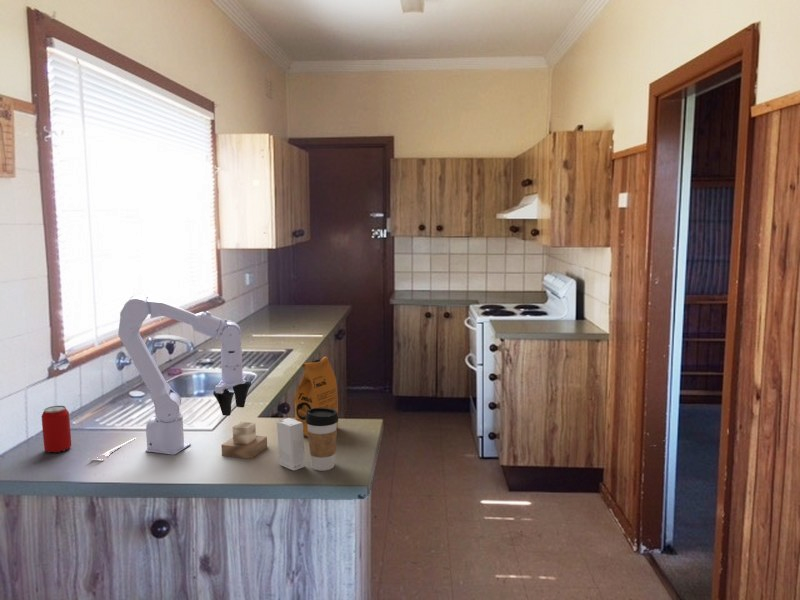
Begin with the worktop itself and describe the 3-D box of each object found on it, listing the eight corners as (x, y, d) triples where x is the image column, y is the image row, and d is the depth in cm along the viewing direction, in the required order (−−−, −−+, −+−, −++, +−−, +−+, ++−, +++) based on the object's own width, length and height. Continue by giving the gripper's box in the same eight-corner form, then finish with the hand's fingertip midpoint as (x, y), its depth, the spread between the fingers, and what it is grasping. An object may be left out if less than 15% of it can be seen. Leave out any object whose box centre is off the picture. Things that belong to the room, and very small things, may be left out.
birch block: (233, 442, 176) (232, 427, 176) (241, 437, 181) (240, 421, 180) (247, 444, 175) (247, 428, 175) (255, 438, 180) (255, 423, 179)
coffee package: (290, 433, 192) (288, 362, 189) (318, 422, 202) (317, 354, 199) (314, 440, 186) (313, 366, 183) (342, 428, 196) (341, 358, 193)
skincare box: (306, 466, 168) (304, 422, 166) (292, 471, 164) (290, 426, 163) (291, 460, 172) (290, 416, 170) (277, 465, 169) (276, 420, 167)
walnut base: (221, 455, 175) (221, 444, 175) (238, 443, 184) (238, 433, 183) (251, 458, 173) (251, 448, 172) (267, 446, 182) (266, 436, 181)
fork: (141, 440, 189) (141, 434, 189) (97, 466, 169) (96, 459, 169) (131, 439, 189) (131, 433, 189) (86, 465, 170) (85, 458, 170)
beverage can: (73, 444, 184) (69, 403, 182) (70, 452, 178) (66, 410, 176) (46, 447, 182) (42, 406, 180) (42, 455, 176) (39, 413, 174)
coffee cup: (307, 460, 172) (306, 406, 170) (339, 459, 172) (338, 405, 170) (305, 473, 163) (304, 416, 161) (338, 472, 164) (337, 415, 162)
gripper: (230, 371, 174) (232, 420, 176) (257, 359, 187) (258, 404, 189) (207, 370, 176) (209, 417, 178) (235, 358, 189) (237, 402, 191)
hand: (233, 411), depth 184 cm, fingers open, 7 cm apart
